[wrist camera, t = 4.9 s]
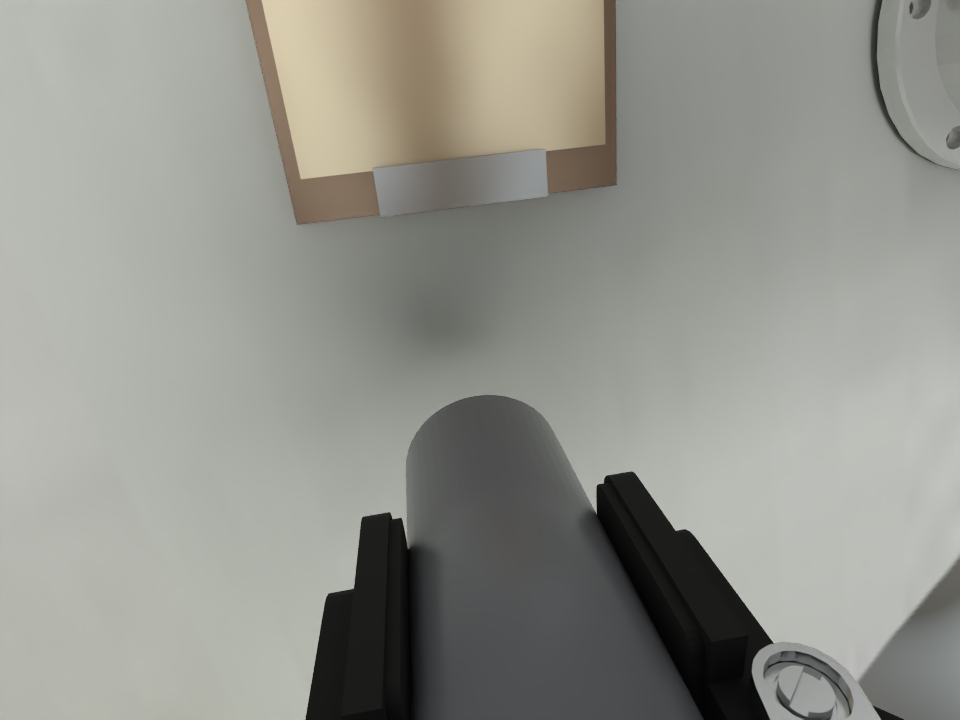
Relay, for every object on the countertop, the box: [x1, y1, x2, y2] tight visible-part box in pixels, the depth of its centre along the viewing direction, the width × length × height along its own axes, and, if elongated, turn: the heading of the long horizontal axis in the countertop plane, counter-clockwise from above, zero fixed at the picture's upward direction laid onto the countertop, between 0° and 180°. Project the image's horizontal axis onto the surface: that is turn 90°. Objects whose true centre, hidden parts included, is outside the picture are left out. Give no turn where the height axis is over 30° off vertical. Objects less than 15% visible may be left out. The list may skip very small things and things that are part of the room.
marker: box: [406, 395, 704, 720], centre depth 8 cm, size 4×4×13 cm
